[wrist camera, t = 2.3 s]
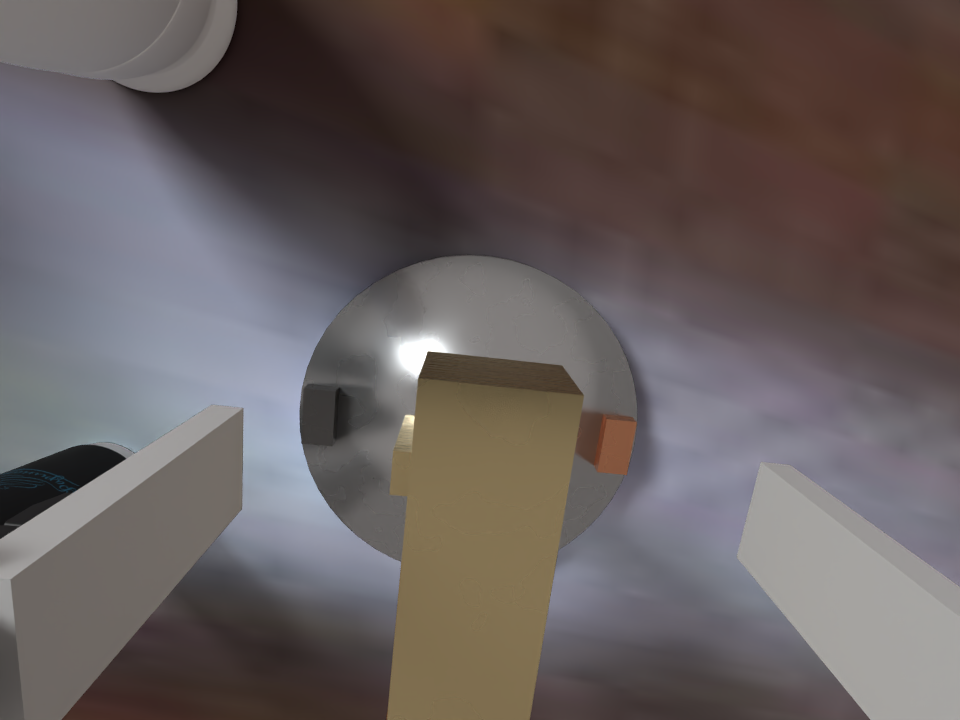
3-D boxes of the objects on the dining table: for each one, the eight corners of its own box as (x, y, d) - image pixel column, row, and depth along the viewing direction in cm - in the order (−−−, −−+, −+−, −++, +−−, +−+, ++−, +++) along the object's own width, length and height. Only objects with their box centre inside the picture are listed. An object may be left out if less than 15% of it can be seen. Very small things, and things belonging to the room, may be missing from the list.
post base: (301, 545, 31) (241, 658, 23) (314, 235, 27) (246, 235, 19) (600, 571, 32) (646, 689, 24) (656, 275, 28) (737, 292, 19)
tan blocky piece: (393, 550, 27) (334, 805, 15) (415, 304, 24) (362, 373, 12) (517, 561, 28) (557, 819, 16) (553, 319, 25) (638, 402, 13)
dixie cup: (131, 393, 29) (-70, 488, 18) (206, 512, 30) (63, 664, 20) (8, 448, 29) (-259, 572, 18) (88, 562, 31) (-113, 736, 20)
